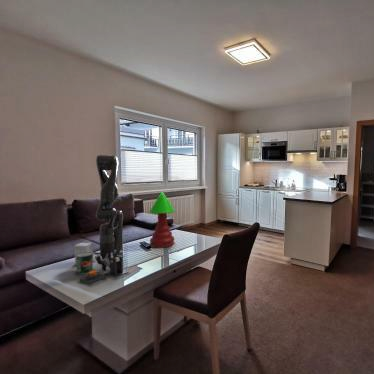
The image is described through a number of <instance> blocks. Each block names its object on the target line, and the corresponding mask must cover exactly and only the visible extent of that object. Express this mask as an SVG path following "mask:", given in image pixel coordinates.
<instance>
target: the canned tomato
mask: <svg viewBox="0 0 374 374" xmlns="http://www.w3.org/2000/svg"><path fill="white" fill-rule="evenodd" d="M76 263H77V265H76V273H77V274H81V275H82V274H88V273H89V272H90V271H93V270H94V269H93V268H94V267H93V266H94V265H93V262H92V252H84V253H80V254H77V255H76Z"/></svg>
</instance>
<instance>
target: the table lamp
mask: <svg viewBox="0 0 374 374" xmlns="http://www.w3.org/2000/svg"><path fill="white" fill-rule="evenodd" d="M149 213H150V214H157V222H156V226H155V228H154V232H153V233H152V234H151V235H152V237H151V238H150V239H149V242H150V243H149V247H151V248H157V249H159V248H168V247H172V246H173V245H175V243H176V242H175V237H174V236H173V232H172V231H171V230H170V226H169V225H168V220H167V219H168V215H167V214H172V213H175V209H174V207H173V206H172V204H171V202H170V200H169V199H168V197H167V196H166V195H165V193H164V192H163V191H161V193H160V194H159V196H158V197H157V198H156V200H155V201H154V204H153V205H152V206H151V208H150V210H149Z"/></svg>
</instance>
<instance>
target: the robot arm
mask: <svg viewBox="0 0 374 374" xmlns="http://www.w3.org/2000/svg"><path fill="white" fill-rule="evenodd" d="M95 163H96V169H97V173H98V177H99V182H100V184H99V185H100V193H99V195H100V196H99V204H98V207H97V210H96V212H95V218H96V219H97V220H98V221H104V223H103V224H101V225H100V226H99V252H95V251H94V250H93V254H96V255H95V256H94V259H95V260H96V262H97V265H100V266H101V270H102V271H104V272H105V271H107V267H106V261H109V262H110V257H113V258H116V255H120V256H123V257H124V234H123V232H124V231H123V226H124V225H123V223H124V222H123V221H124V214H123V211H122V210H117V209H116V208H114V207H112V206H113V205H114V204H115V202H116V201H117V199H118V198H119V190H118V185H117V184H116V180H117V175H118V168H119V160H118V157H117V155H109V154H98V155H96V158H95ZM106 171H110V174H109V175H108V174H107V172H106ZM115 225H116V226H115ZM108 269H110V265H109V266H108Z"/></svg>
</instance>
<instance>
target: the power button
mask: <svg viewBox="0 0 374 374" xmlns="http://www.w3.org/2000/svg"><path fill="white" fill-rule="evenodd" d="M88 273H89V276H92V275H96V274H97V270H96V269H95V270H94V269H93V270H92V271H90V272H88Z"/></svg>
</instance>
